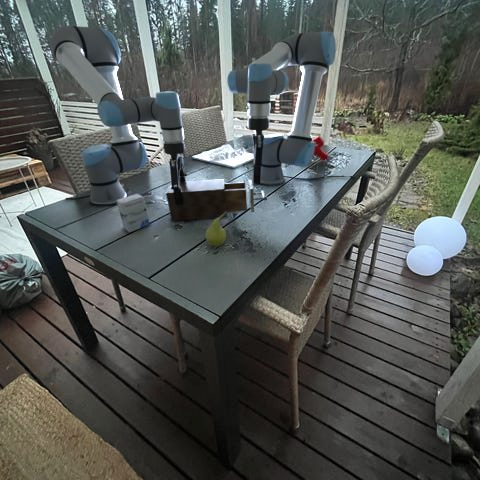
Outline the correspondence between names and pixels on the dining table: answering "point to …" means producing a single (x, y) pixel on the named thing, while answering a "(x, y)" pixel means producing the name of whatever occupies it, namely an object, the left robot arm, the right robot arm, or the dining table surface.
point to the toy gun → (319, 148)
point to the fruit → (216, 233)
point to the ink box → (133, 212)
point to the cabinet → (198, 200)
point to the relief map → (226, 156)
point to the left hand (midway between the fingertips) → (181, 198)
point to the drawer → (240, 196)
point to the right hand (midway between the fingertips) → (256, 182)
